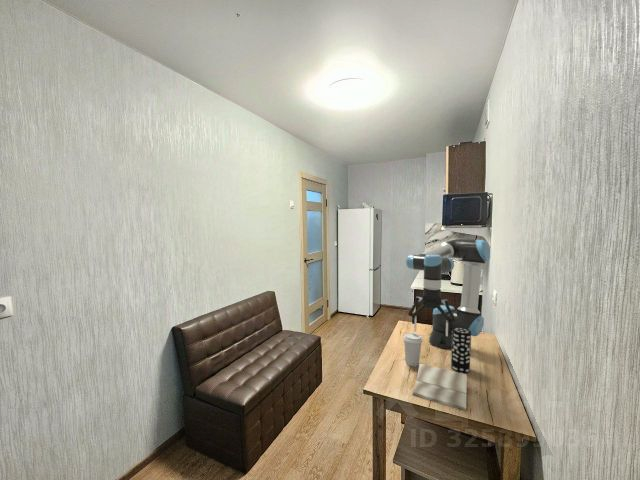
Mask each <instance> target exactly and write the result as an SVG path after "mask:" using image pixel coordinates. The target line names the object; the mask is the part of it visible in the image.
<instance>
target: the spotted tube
mask: <svg viewBox="0 0 640 480" xmlns="http://www.w3.org/2000/svg"><path fill="white" fill-rule="evenodd" d="M471 347H472V336H471V331H470V330H468V329H465V328H459V327H456V328H453V329H452V349H451V359H450V361H451V362H450V363H451V364H450V369H452V371H454V372H458V373H462V374H468V373H470V371H471V349H472V348H471Z"/></svg>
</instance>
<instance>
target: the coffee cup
mask: <svg viewBox="0 0 640 480" xmlns="http://www.w3.org/2000/svg"><path fill="white" fill-rule="evenodd" d="M402 340H403V342H404V357H405V359H404V360H405V364H406V365H408V366H409V367H419V364H420V358H421V357H420V356H421V349H422V343H423V342H424V341H423V338H422V336H421V335H420V334H418V333H416V332H407V333H405V334H404V335H403V339H402Z"/></svg>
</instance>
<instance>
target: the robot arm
mask: <svg viewBox="0 0 640 480" xmlns="http://www.w3.org/2000/svg"><path fill="white" fill-rule="evenodd" d="M490 258H491V249H490V245H489V243H488V242H487V241H486V240H483V239H465V238H464V239H462V238H458V239H457V238H456V239H452V240H448V241H445V242H442V243H440V244H439V245H438V246H437V247H435V248H432V249H430V250H426V251H424V252H422V253H420V254H409V255H408V256H407V257H406V260H405V264H406V267H407V268H408V269H411V270H415V271H416V270H418V271H423V283H422V284H423V286H422V287H423V289H422V290H423V293H422V295H423V296H422V297H420V296H416V297H415V301H414V302H413V304H412V306H411V308H410V309H409V312H408V314H407V315H408V316H409V317H411V324H412V325H414V329H413V330H414V331H413V333H416V332H417V321H418V320H417V318H418V317H417V316H418V314H420V313H421V312H422V311H423V310H424V309H426V308H427V309H433V311H432V330H431V332H430V335H429V337H428V338H429V340H428V342H429V344H431V345H432V346H433V347H436V348H437V349H438V348H439V349H443V350H452V329H453V328H456V327H459V328H465V329H468V330H470V331H471V337H478V336H479V335H480V334H481V332H482V330H483V327H484V324H485V321H484V320H485V318H484V317H483V316H482V315H481V312H480V311H481V310H479V298H480V287H481V276H482V267H483V266H484V265H486V262H488V261H489V260H490ZM453 259H461V262H462V264H463V265H464V269H463V277H462V286H461V287H462V288H461V289H462V290H461V300H460V306H458V307H457V309H456V310H455V307H454V306H453V305H449V301H448V299H446V298H445V299H442V298H441V297H442V296H441V293H442V291H441V290H442V289H441V288H442V274H447V273H449V272H451V271H453V269H454V267H455V263H454V261H453ZM421 301H422V303H423V304H422V305H420V306H419V307H418V308H417V309H416V307H417V305H418V304H419V303H420V302H421ZM415 309H416V310H415ZM414 310H415V311H414Z"/></svg>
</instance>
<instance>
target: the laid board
mask: <svg viewBox="0 0 640 480" xmlns="http://www.w3.org/2000/svg"><path fill="white" fill-rule="evenodd" d="M412 396H415V397H419V398H422V399H425V400H429V401H432V402H436V403H438V404H443V405H445V406H450V407H453V408H456V409H459V410H463V411H465V412H467V393H466V394H465V393H461V392H458V391H454V390H450V389H446V388H443V387H439V386H435V385H432V384H428V383H424V382H420V381H417V380H415V384H414V387H413V391H412Z"/></svg>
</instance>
